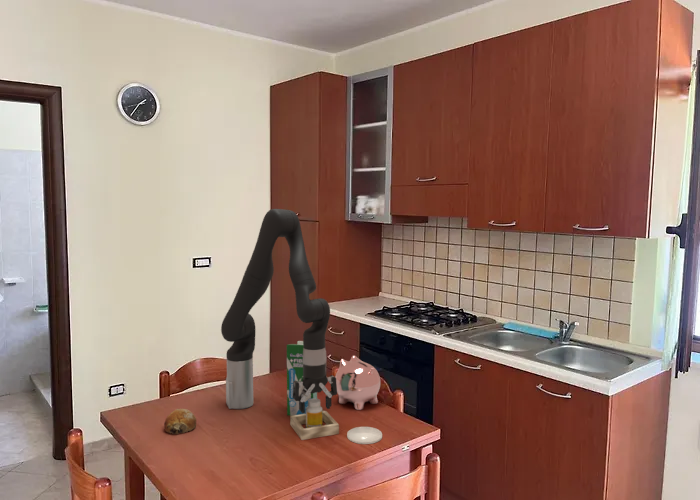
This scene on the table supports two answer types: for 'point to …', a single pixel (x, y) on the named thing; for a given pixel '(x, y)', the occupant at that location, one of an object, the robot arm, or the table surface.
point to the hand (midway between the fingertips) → (315, 410)
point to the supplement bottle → (313, 413)
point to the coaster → (364, 435)
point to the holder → (317, 431)
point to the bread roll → (180, 421)
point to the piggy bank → (357, 382)
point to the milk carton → (295, 377)
